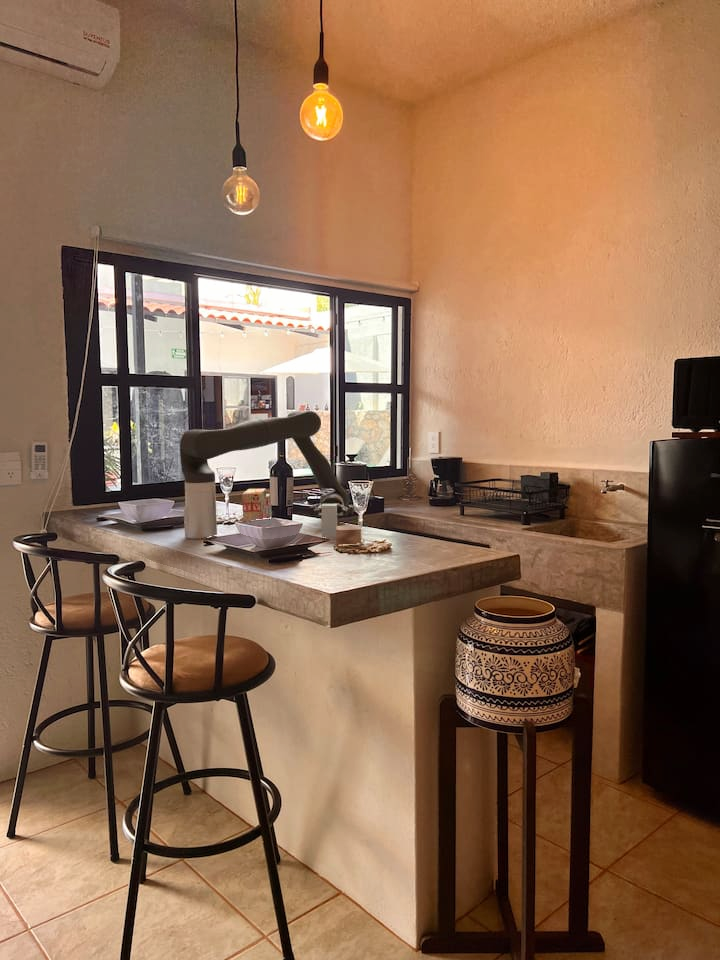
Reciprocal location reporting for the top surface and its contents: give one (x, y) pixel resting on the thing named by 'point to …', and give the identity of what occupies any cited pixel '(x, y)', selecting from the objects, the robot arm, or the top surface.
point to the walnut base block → (348, 534)
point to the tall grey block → (329, 520)
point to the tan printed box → (256, 504)
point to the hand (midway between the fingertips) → (330, 513)
